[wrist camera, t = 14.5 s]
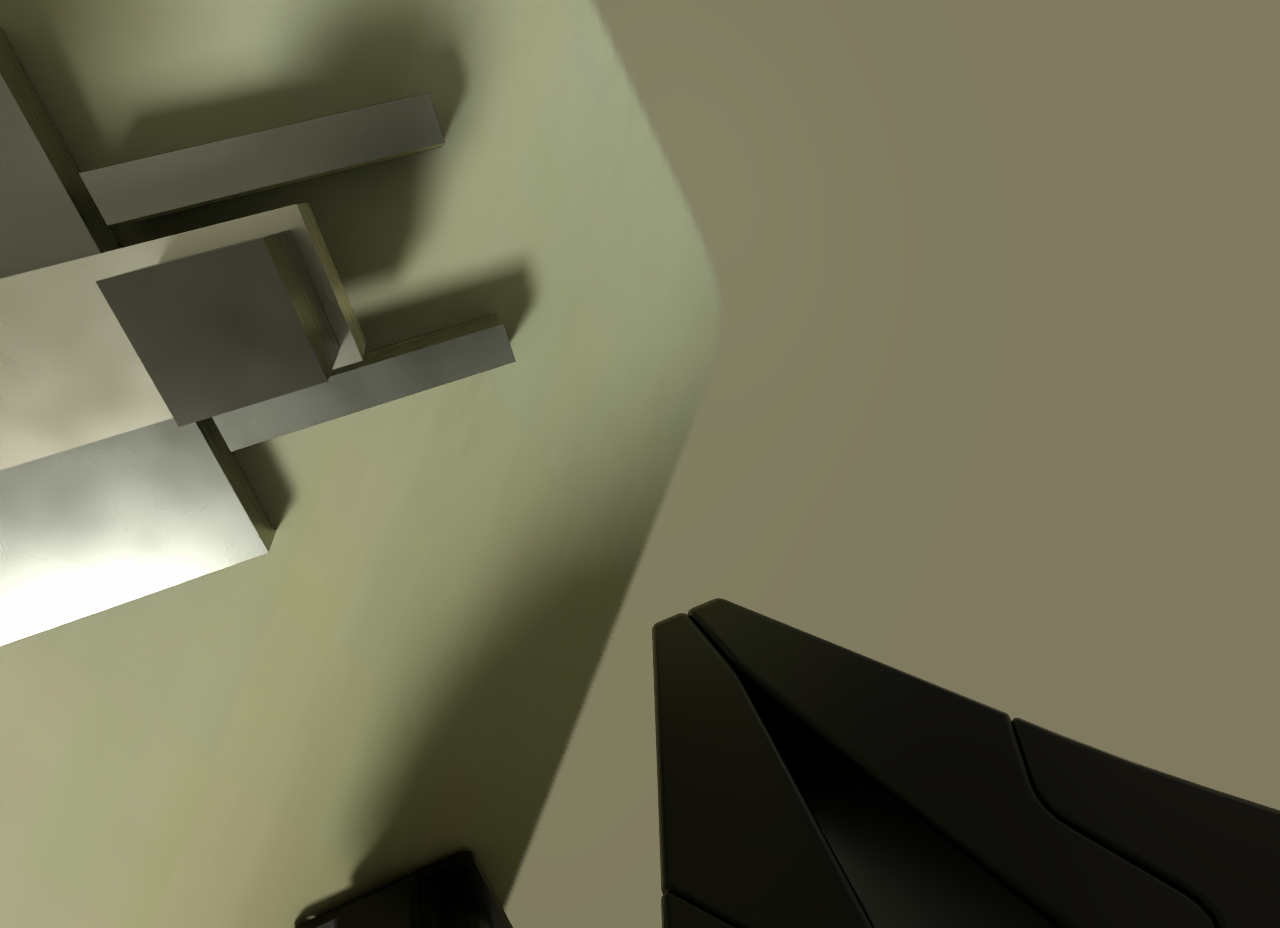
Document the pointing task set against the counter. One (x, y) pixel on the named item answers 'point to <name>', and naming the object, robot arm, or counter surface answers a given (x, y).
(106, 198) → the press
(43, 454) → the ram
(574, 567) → the counter surface
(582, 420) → the counter surface
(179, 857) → the counter surface
